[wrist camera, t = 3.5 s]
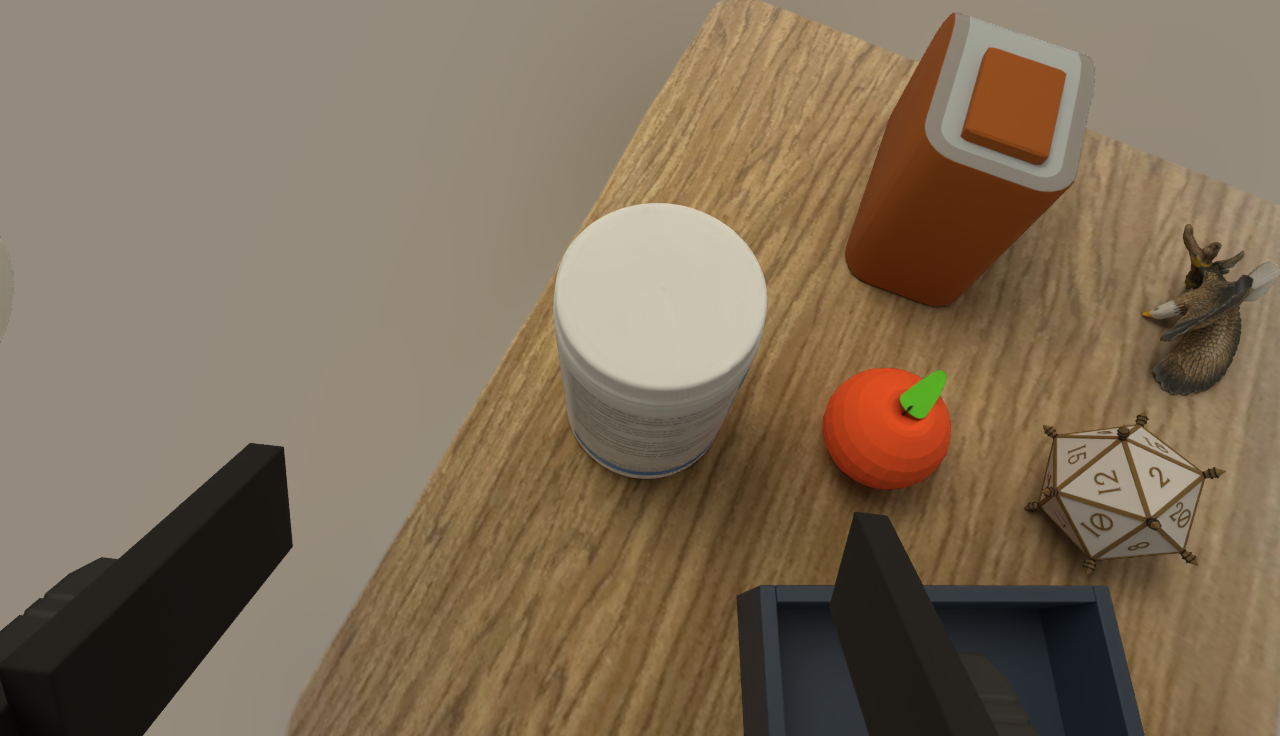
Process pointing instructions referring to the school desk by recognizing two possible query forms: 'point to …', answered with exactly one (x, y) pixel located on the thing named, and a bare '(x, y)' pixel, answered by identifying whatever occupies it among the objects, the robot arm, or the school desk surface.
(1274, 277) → the eagle figurine
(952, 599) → the bin
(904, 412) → the clementine
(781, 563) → the school desk surface
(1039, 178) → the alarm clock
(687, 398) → the supplement tub
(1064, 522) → the game die
